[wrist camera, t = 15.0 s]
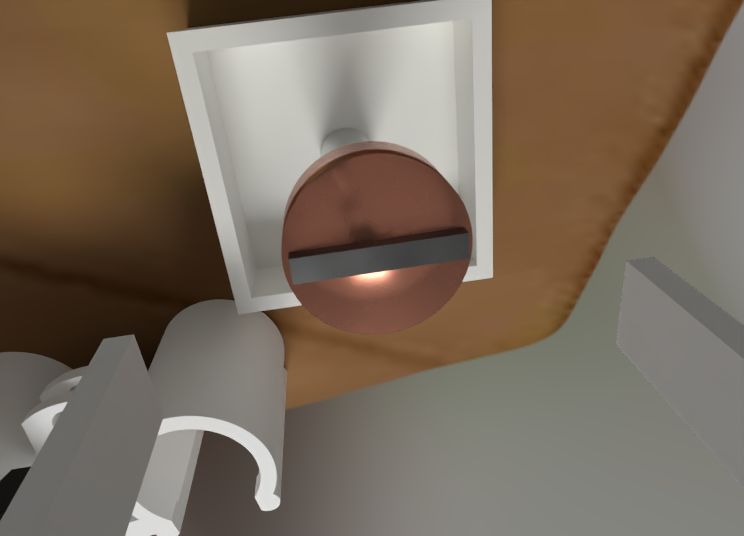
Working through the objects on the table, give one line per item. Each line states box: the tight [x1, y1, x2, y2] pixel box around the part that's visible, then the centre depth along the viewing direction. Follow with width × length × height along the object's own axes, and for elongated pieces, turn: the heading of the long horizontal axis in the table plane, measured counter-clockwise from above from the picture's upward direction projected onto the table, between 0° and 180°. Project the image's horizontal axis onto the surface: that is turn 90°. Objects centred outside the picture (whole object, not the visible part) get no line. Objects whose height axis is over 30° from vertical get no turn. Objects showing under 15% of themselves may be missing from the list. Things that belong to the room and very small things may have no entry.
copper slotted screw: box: [281, 127, 473, 335], centre depth 26 cm, size 7×7×16 cm
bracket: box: [0, 299, 287, 536], centre depth 35 cm, size 25×10×12 cm, turn 105°
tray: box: [167, 0, 493, 314], centre depth 32 cm, size 16×16×5 cm
